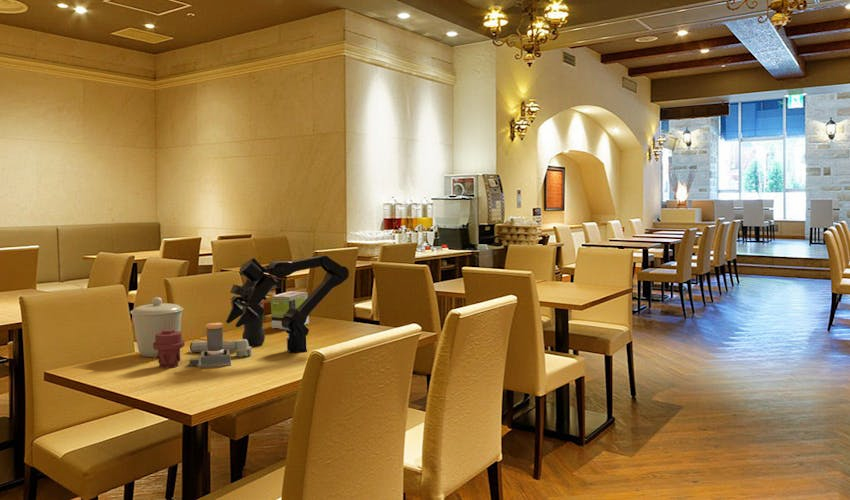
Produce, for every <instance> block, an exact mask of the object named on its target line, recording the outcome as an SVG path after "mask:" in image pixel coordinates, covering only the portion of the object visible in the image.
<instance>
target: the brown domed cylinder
mask: <svg viewBox="0 0 850 500" xmlns="http://www.w3.org/2000/svg"><path fill="white" fill-rule="evenodd" d="M223 328H224V323H222V322H210V323H207V324H205V329H206V341H207V354H208V356H216V355H224V350H223V341H224V335H223V331H224V330H223Z"/></svg>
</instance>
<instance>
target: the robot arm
mask: <svg viewBox="0 0 850 500" xmlns="http://www.w3.org/2000/svg"><path fill="white" fill-rule="evenodd" d="M319 267H321V269H323V271H324V272H325V274H324V278H323V280H322V281H321V283H320V284H318V286H317V287H316V288H315V289H314V290H313V291H312V292H311V293H310V294H309V295H308V298H307V299H306V300H305V301H304V302H303V303H302V304H301V305H300V306H299V307H298V308H296V309H294V308H290V309H289V310H288V311H287V313H285V314H284V315H283V316H284V317H283V318H282V320H281V321H282V322H281V324H282V327H283V328H284V329H283V330H285V332H286V334H288V335H287V338H286V351H288V353H291V354H292V353H304V352H305V353H306V352H308V349H307V336H308V335H309V332H310V328H308V327H307V326H306V324H305V322H306V320H307V317H308V316H309V315H310V314H311V312H312V311H313V310H314V309H315V308H316V307H317V306H318V305H319V304H320V303H321V302H322V301H323V299H324V298H325V297H326V296H328V294H329V293H330V292H331V291H332V290H333V289H334V288H336V287H337V286H340V285H341V284H343V283H344V282H345V281H347V280H348V279H349V277H350V270H349V268H348V267H347V266H344V265H341V264H339V263H338V262H336V261H334V260H333V259H332V258H330V257H329V256H328V255H324V254H320V255H317V256H311V257H307V258H300V259H296V260H291V261H289V260H285V261H284V260H273V261H270V263H268V264H267V265H264V266H263V265H262V264H260V262H258V260H257V259H256V258H255V257H251V258H250V259H249V260H247V261H246V262H244V263H243V264H242V265H241V266H240V268H239V270H238V271H239V273H240V274H242V275H243V276H244V277H245V278H246V280H247V279H248V280H250V281H251V282H253V281H255V282H256V281H257V282H256V283H255V285H254V286H253V287H249V288H248V286H246V285H244V284H242V285H238V284H234V283H233V284H232V287H231V289H230V293H231V294H234V295H233V296H232V297H231V299H230V304H231V305H230V306H231V309H230V312H229V314H228V316H227V318H226V320H225V322H226V324H230V323H232V322H234V321H235V320H236V319H238V318H239V319H238V320H237V322H236V324H235V328H239V327H240V328H241V326H244V324H246V323H248V322H250V321H252V320H254V319H256V318H259V317H258V316H260V317H261V316H262V315H263V314H264V315H265V307H264V308H262V307H261V306H260V305H259V304H260V303H261V301H262V300H264V301H266V300H267V297H266V296H267V295H268V294H269V293H270V292H271V291H272V290H273V288H277V289H281V283H280V280H277V279H284V278H286V277H288V276H291V275H292V274H293V273H296V272H300V271H305V270H309V269H314V268H319ZM267 274H268V275H267ZM275 278H277V279H275ZM257 315H258V316H257ZM304 324H305V325H304Z"/></svg>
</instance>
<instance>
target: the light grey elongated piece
mask: <svg viewBox="0 0 850 500" xmlns="http://www.w3.org/2000/svg"><path fill="white" fill-rule="evenodd" d="M226 349H228V350H230V351H231V350H234V353H235V355H236V357H238V358H243V357H248V356H251V355H252V346H249V344H248V341H247V339H243V338H242V339H237V340H223V350H226ZM189 350H190V352H191V353H200V354H201V352H202V351H207V340H206V341H203V340H199V341H194V342H193V341H192V342H190V344H189Z"/></svg>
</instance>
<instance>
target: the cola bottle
mask: <svg viewBox="0 0 850 500" xmlns="http://www.w3.org/2000/svg"><path fill="white" fill-rule="evenodd" d="M256 282H257V281H256ZM256 282H255V281H253V282H251V281H250V280H248V279H247V278H246V281H245V282H244V284H243V285H246V286H248V288H249V287H253V286H254V285H255V283H256ZM264 301H265V300H262V301H261V303H260V304H259V305H260V306H261V307H262V308H264V309H265V304H264ZM257 316H258V315H257ZM258 317H259V318H256V319H254V320H252V321H250V322H248V323H246V324H244V325H243V327H244V328H243V332H242V340H243V339H247V341H248V344H249V347H259V346H261V345H263V344H264V343H265V339H266V334H265V330H264V328H263V327H264V326H263V325H264V318H265V313H264V314H263V315H262V316H261V317H260V316H258Z"/></svg>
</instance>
